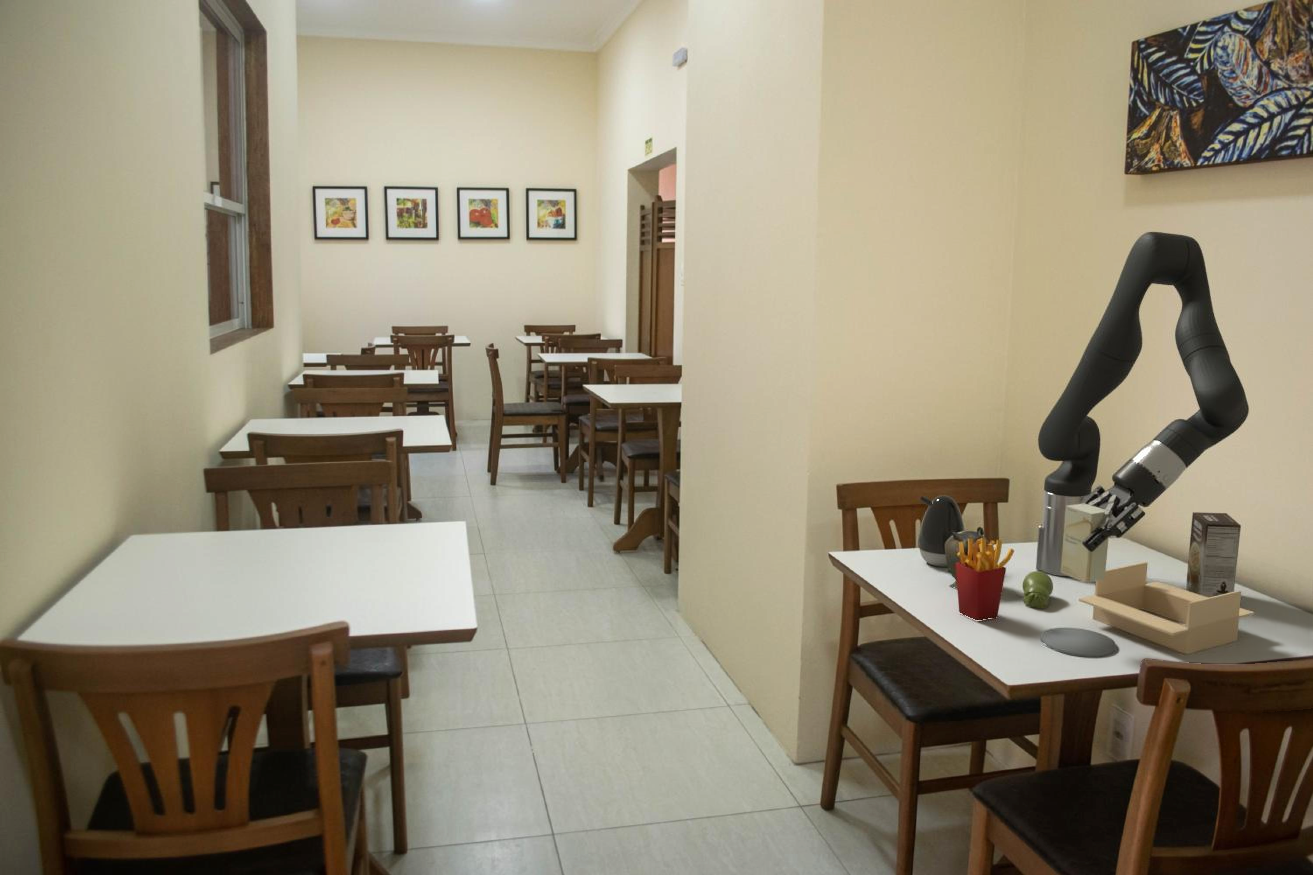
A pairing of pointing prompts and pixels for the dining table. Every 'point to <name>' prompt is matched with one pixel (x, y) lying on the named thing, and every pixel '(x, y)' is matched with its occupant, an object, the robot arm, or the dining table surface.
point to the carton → (1165, 610)
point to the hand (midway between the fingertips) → (1076, 541)
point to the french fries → (980, 579)
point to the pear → (1037, 589)
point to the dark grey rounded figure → (938, 528)
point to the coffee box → (1212, 554)
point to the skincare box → (1074, 554)
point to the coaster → (1078, 642)
